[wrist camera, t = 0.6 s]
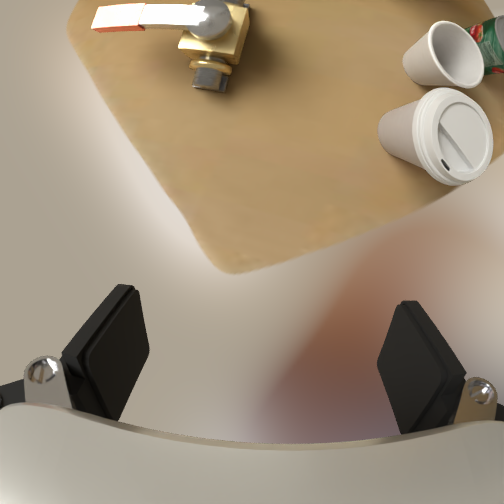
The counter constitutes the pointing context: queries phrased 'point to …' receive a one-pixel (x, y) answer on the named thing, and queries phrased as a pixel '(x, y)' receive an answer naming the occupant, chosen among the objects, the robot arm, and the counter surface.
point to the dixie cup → (445, 58)
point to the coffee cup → (440, 136)
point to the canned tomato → (490, 43)
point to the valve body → (217, 50)
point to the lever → (167, 18)
